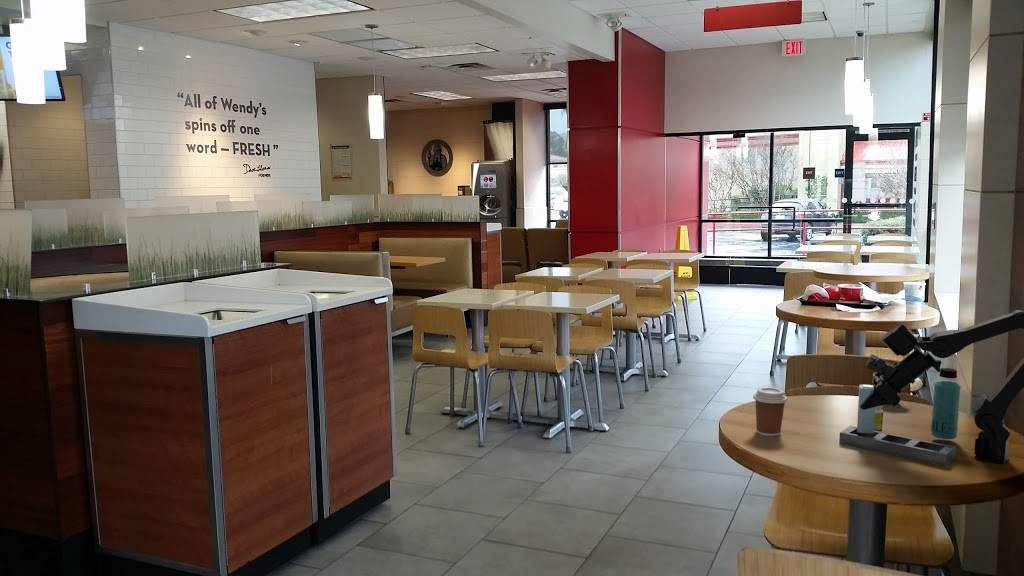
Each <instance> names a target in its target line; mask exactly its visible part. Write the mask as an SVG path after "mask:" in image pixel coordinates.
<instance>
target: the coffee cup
mask: <svg viewBox="0 0 1024 576" xmlns="http://www.w3.org/2000/svg"><path fill="white" fill-rule="evenodd" d="M752 397H753V398H752V399H753V400H754V401H755V421H756V423H755V424H756V433H757V434H759V435H762V436H765V437H777V436H780V435H781V432H782V424H783V417H784V411H785V410H784V409H785V403H787V402H788V396H786V394H785V391H784V390H782V389H780V388H776V387H765V386H764V387H759V388H758V389H757V391H756V392H755V393H754V394H753V396H752Z"/></svg>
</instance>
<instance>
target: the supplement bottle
mask: <svg viewBox="0 0 1024 576" xmlns="http://www.w3.org/2000/svg"><path fill="white" fill-rule="evenodd" d="M883 423H884V410H883V405H882V406H877V407H875V420H874V431H879V432H883V425H884V424H883Z"/></svg>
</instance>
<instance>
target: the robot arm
mask: <svg viewBox="0 0 1024 576" xmlns="http://www.w3.org/2000/svg"><path fill="white" fill-rule="evenodd" d="M1018 329H1023V330H1024V310H1022V309H1015V310H1013V311H1011V312H1010V313H1007V314H1003V315H1001V316H998V317H995V318H992V319H991V318H990V319H988V320H985V321H983V322H982V321H981V322H980V323H977V324H974V325H971V326H968V327H965V328H960V329H948V330H943V331H938V332H934V333H932V334H931V335H927V336H915V335H914V334H913V333H912V332H911V331H910V330H909V329H908V327H907V326H906V324H904V323H900V324H899V325H897V326H895V327H894V328H891V329H890V330H888V331H887V332H886V333H885V334H884V335H883V336H882V337H881V338H880V340H881V342H882V343H884V345H886V347H887V348H888V349H890V351H891V352H893V354H894V355H895V356H896V357H898V356H900V357H904V358H902V359H901V361H894V362H893V363H891V362H888V361H887V360H886V359H883V358H882V357H879V356H877V355H875V354H873V353H872V354H870V356H869V357H868V359H867V361H866V362H865V367H866V368H867V369H869V370H870V371H874V372H873V374H874V375H875V376H877V377H878V378H877V379H875V378H874V376H873V377H872V385H873V386H874V390H873V393H872V394H871V395H870V396H869V397H868V398H867V399H866V400H865V401H864V403H863V404H862V405H861V406H860V408H861V409H862V410H865V409H869V408H873V407H877V406H882V407H883V406H886V405H892V406H893V407H896V406H897V405H898V404H899V403H901V393H903V390H904V389H905V388H906V387H908V386H909V385H910V384H911V385H913V384H914V383H916V380H917V379H918V378H919V377H921V376H922V375H924V373H926V372H928V371H929V370H930V369H931V368H933V369H934V370H935V371H936V372H937V373H940V369H941V367H942V366H941V364H942V363H943V362H942V360H941V359H945V358H946V359H947V358H949V357H951V356H953V355H955V354H957V353H959V352H961V351H962V350H964V349H965V348H966V347H968V346H970V345H972V344H976V343H978V342H981V341H984V340H988V339H991V338H994V337H997V336H1000V335H1003V334H1005V333H1008V332H1012V331H1014V330H1018ZM923 351H925V352H923ZM934 357H936V358H939V359H936V358H934ZM1022 390H1024V357H1022V358H1021V360H1020V361H1019V362H1018V364H1017V365H1016V366H1015V367H1014V368H1013V369H1012V371H1011V372H1010V373H1009V374H1008V375H1007V377H1006V378H1005V379H1004V381H1003V382H1001V384H1000V385H999V386H998V387H997V389H996V390H995V391H994V392H993V393H991V394H989V395H988V396H987V395H986V394H984V393H981V395H980V396H979V397H978V400H976V401H975V402H974V403H972V404H971V406H972V409H971V413H970V414H971V417H972V419H973V422H974V424H975V426H976V427H977V428H978V429H979V430H980V432H979V433H978V434H977V435H978V436H977V437H976V438H975V439H974V452H973V454H974V457H973V458H974V459H976V460H980V461H986V462H990V463H996V464H1000V465H1004V464H1005V463H1006V462H1007V461H1008V460H1009V457H1010V456H1009V455H1008V454H1009V453H1008V451H1009V442H1010V440H1009V439H1010V436H1011V432H1010V430H1009V429H1008V427H1007V426H1006V424H1005V423H1004V422H1003V421H1004V419H1005V418H1006V416H1007V413H1008V410H1009V408H1010V405H1011V403H1012V402H1013V401H1014V400H1015V399H1016V398H1017V396H1019V394H1020V393H1021V392H1022Z"/></svg>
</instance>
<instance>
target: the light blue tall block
mask: <svg viewBox="0 0 1024 576" xmlns="http://www.w3.org/2000/svg"><path fill="white" fill-rule="evenodd" d="M858 385H859V386H858V401H857V403H858V405H857V421H856V423H857V424H856V427H857V432H859V433H869V434H874V420H875V407H873V408H869V409H865V410H862V409H861V408H860V406H861V405H862V404H863V403H864V401H865V400H866V399H867V398H868V397H869V396H870V395H871V394H872V393H873V390H874V386H873V384H858Z"/></svg>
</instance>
